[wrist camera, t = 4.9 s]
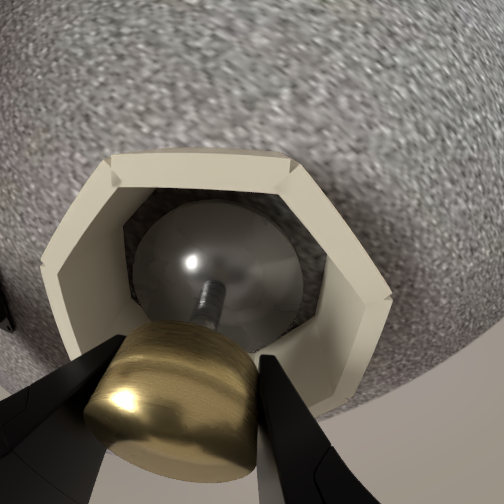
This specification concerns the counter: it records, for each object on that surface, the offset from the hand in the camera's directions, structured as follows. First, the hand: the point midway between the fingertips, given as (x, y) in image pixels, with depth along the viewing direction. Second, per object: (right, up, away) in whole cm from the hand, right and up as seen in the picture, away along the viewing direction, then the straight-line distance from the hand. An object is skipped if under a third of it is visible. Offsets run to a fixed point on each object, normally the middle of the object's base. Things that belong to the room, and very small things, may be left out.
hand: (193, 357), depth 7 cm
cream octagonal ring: (0, +1, +6) cm, 6 cm away
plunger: (0, +2, +4) cm, 5 cm away
